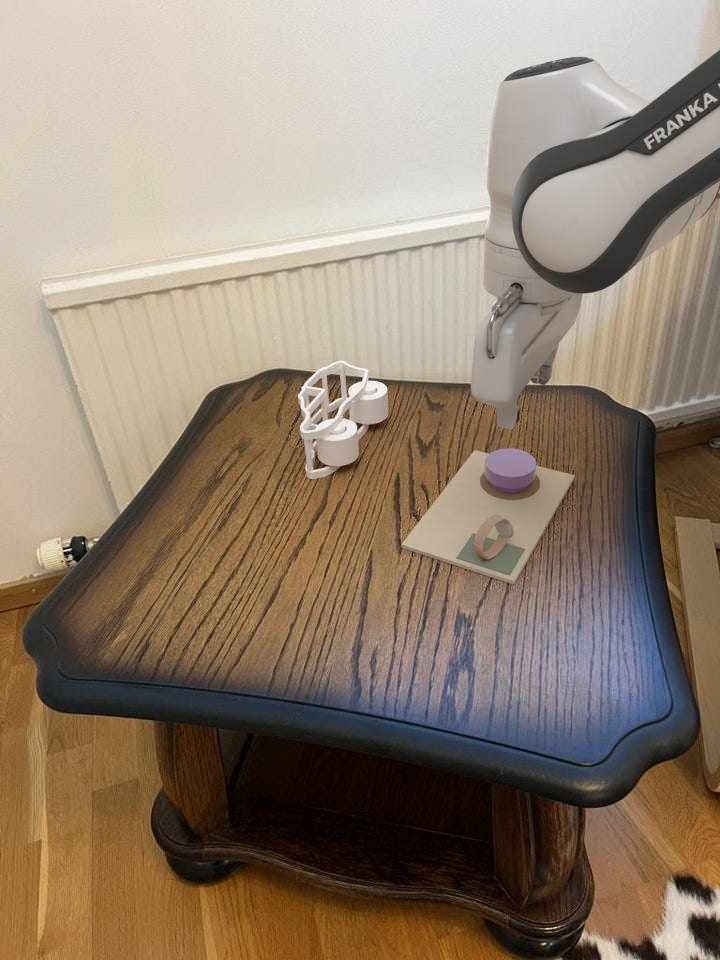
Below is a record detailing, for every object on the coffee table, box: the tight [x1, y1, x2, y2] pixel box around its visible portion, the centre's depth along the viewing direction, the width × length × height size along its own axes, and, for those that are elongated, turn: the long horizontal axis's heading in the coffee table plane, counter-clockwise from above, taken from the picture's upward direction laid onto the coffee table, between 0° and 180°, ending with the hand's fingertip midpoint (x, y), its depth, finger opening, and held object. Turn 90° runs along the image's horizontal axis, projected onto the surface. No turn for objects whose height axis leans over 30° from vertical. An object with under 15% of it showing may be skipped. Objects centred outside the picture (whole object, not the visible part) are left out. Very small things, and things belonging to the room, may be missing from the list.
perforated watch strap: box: [473, 515, 514, 559], centre depth 85 cm, size 3×5×5 cm, turn 132°
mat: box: [400, 449, 576, 585], centre depth 94 cm, size 14×22×1 cm, turn 150°
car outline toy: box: [297, 360, 389, 480], centre depth 107 cm, size 20×11×7 cm, turn 157°
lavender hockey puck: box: [485, 447, 537, 493], centre depth 97 cm, size 6×6×3 cm
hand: (525, 402), depth 75 cm, fingers open, 8 cm apart
